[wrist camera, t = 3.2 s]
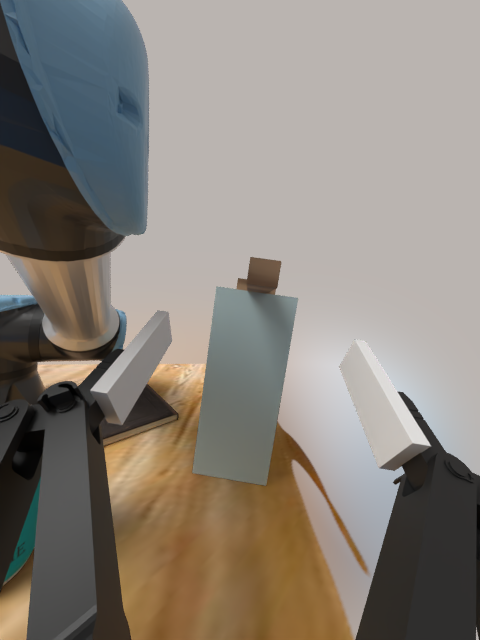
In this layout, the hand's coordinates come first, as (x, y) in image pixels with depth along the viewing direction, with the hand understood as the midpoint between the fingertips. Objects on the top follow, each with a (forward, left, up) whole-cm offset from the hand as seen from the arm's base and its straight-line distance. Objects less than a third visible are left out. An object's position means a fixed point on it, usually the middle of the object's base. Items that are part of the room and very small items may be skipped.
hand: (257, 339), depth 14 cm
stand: (-20, +11, -26) cm, 35 cm away
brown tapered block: (-15, +9, +4) cm, 18 cm away
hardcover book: (-39, -9, -27) cm, 48 cm away
